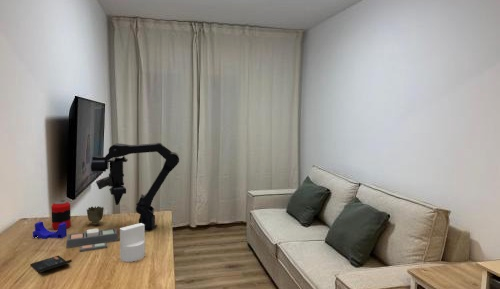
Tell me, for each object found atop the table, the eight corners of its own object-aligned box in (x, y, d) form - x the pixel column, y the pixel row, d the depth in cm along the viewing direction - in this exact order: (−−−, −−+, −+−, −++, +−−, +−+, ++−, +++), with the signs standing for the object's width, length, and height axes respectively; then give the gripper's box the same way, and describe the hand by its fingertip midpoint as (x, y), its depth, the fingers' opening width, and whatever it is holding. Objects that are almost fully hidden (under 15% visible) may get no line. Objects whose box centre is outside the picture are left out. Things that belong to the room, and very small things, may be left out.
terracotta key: (82, 238, 140) (82, 233, 140) (82, 242, 137) (82, 237, 136) (71, 240, 138) (70, 235, 138) (70, 244, 135) (70, 238, 134)
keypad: (116, 234, 148) (116, 227, 148) (118, 240, 141) (118, 233, 141) (66, 241, 139) (66, 234, 139) (66, 248, 133) (65, 240, 132)
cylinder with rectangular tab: (127, 264, 121) (127, 232, 120) (115, 256, 127) (115, 226, 126) (149, 256, 128) (149, 226, 126) (137, 249, 134) (137, 220, 132)
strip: (106, 244, 137) (106, 242, 137) (107, 247, 134) (107, 245, 134) (79, 248, 132) (79, 246, 132) (79, 251, 130) (79, 249, 129)
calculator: (58, 257, 125) (58, 249, 125) (71, 267, 118) (71, 259, 117) (30, 266, 118) (29, 258, 118) (42, 277, 111) (42, 269, 110)
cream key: (98, 233, 143) (98, 228, 143) (98, 237, 139) (98, 231, 139) (86, 235, 141) (86, 229, 141) (87, 239, 137) (87, 233, 137)
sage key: (113, 234, 146) (113, 229, 146) (114, 238, 142) (114, 233, 142) (102, 236, 144) (102, 231, 144) (102, 240, 140) (102, 234, 140)
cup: (99, 227, 156) (99, 210, 155) (84, 226, 156) (83, 210, 155) (106, 221, 163) (106, 206, 162) (91, 221, 163) (91, 205, 162)
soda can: (73, 224, 159) (72, 199, 157) (66, 230, 151) (66, 204, 150) (56, 224, 158) (55, 200, 156) (49, 230, 150) (48, 204, 149)
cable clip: (32, 238, 141) (32, 225, 140) (40, 234, 145) (39, 221, 145) (60, 240, 140) (59, 226, 140) (66, 236, 145) (66, 222, 144)
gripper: (96, 168, 155) (96, 201, 157) (98, 176, 138) (98, 212, 140) (121, 167, 160) (121, 198, 162) (126, 175, 143) (126, 209, 145)
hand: (116, 204), depth 152 cm, fingers closed
